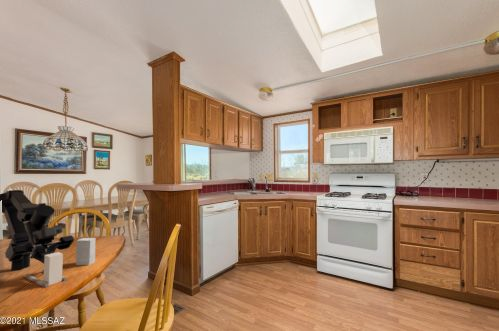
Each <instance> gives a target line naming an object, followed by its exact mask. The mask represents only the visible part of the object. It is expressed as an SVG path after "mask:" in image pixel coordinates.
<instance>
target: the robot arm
mask: <svg viewBox="0 0 499 331" xmlns="http://www.w3.org/2000/svg"><path fill="white" fill-rule="evenodd" d="M1 200H2V212H1V213H3V215H4V218H5V220H6V223H7V226H8V229H9V231H10V234H11V240H10V242H9V245H8V247H7V248H6V250H5V253H4V254H5V258H6V259H8V262H9V263H10V262H11V263H10V264H11V265H10V269H11V272H16V271H17V272H18V271H21V270H24V269H28V268H30V267H31V259H34V260H37V261H38V262H40V263H42V264H43V265H44V259H45V255H47V254H52V253H56V250H59V251H61V250H62V251H63V250H66V249H69V248H70V247H71V245H72V244H73V242H74V241H75V238H74V236H73V235H65V236H60V238H59V239H58V241H54V240H56V238H55V236H58V234H62V232H63V228H62V226H61V224H57V225H54V226H53V227H47V224H48V223H49V222H50V220H51V218H52V217H53V215H54V213H55V208H54V207H52V206H50V205H49V204H46V203H45V202H41V203H33V202H32V201H31V200H30V199H29V198H28V197H27V196H26V194H25V193H24V190H21V189H10V190H7V191H5V192H3V193H0V201H1ZM25 222H26V224H25Z"/></svg>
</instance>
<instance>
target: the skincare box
mask: <svg viewBox="0 0 499 331" xmlns="http://www.w3.org/2000/svg"><path fill="white" fill-rule="evenodd" d="M96 241H97V240H96V237H82V238H79V239H77V240H76V247H75V248H76V250H75V251H76V252H75V253H76V254H75V255H76V256H75V266H90V265H92V264H94V263H95V262H96Z"/></svg>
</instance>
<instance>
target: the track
mask: <svg viewBox="0 0 499 331" xmlns="http://www.w3.org/2000/svg"><path fill="white" fill-rule="evenodd" d="M42 272H43V273H44V268H43V269H42ZM24 278H25V279H27V280H29V281H32V282H33V283H36V284H37V285H40V286H41V287H44V288H45V289H46V288H48V287H49V286H50V285H49V284H48V283H46V282H44V281H43V280H41V279H39V278H37V277H35V276H33V275H30V274H29V273H26V274H24ZM62 281H63V282H67V281H68V277H65V276H63V275H62Z"/></svg>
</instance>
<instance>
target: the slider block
mask: <svg viewBox="0 0 499 331" xmlns="http://www.w3.org/2000/svg"><path fill="white" fill-rule="evenodd" d="M63 261H64V254H63V253H62V252H59V251H57V252H56V251H55V252H54V253H52V254H47V255H45V259H44V264H43V269H44V272H43V278H42V279H43V280H42V281H44V282H46V283H48V284H49V286H52V285H54V284H57V283H60V282H62V281H63V280H62V276H63Z"/></svg>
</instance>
